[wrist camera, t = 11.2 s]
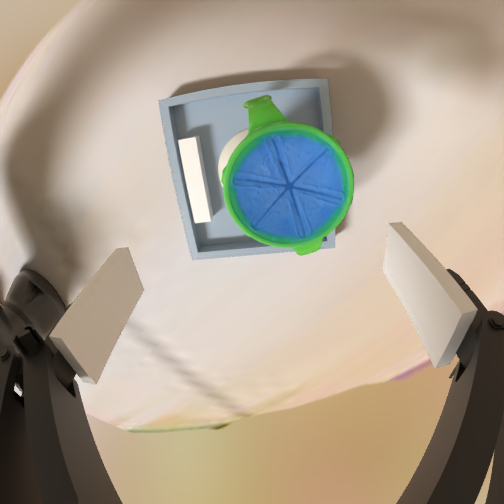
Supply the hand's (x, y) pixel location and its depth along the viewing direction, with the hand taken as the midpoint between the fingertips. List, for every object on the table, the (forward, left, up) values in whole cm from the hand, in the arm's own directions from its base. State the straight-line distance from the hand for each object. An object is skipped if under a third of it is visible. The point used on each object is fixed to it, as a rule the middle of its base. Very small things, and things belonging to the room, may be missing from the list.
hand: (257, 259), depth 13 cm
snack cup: (+2, 0, -20) cm, 20 cm away
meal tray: (-1, 0, -20) cm, 20 cm away
